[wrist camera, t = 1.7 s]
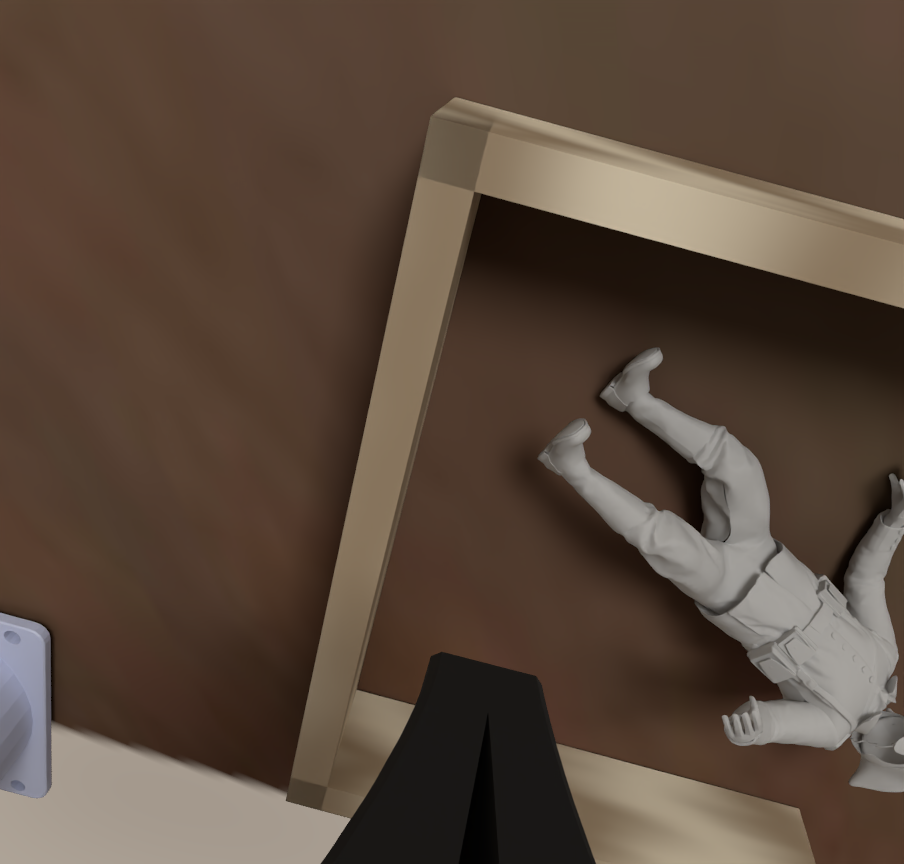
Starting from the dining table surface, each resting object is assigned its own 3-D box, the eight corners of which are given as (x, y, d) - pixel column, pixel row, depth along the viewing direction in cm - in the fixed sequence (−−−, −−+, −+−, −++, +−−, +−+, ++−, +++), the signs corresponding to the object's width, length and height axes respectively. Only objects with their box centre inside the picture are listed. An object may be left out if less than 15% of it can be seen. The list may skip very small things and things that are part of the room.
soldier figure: (731, 260, 18) (1139, 642, 17) (643, 346, 23) (962, 653, 22) (507, 484, 16) (976, 954, 15) (457, 532, 20) (812, 893, 19)
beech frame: (320, 704, 25) (285, 801, 22) (455, 96, 16) (430, 116, 13) (784, 829, 25) (816, 943, 22) (1159, 288, 17) (1296, 351, 13)
